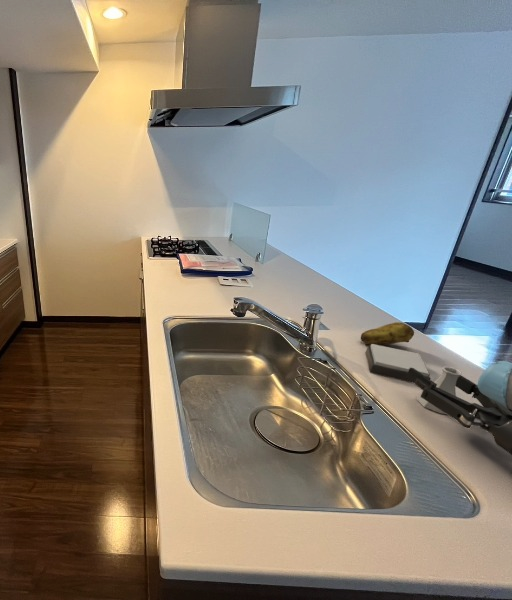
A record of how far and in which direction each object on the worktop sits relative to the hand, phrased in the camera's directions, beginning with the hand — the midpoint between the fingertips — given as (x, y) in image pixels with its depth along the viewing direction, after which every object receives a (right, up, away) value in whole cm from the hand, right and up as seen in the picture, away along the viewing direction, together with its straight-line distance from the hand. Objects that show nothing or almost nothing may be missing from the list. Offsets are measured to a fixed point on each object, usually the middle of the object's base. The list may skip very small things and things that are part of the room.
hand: (427, 372), depth 79 cm
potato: (+9, +3, +23) cm, 25 cm away
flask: (0, -8, -2) cm, 8 cm away
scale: (+2, -1, +12) cm, 12 cm away
